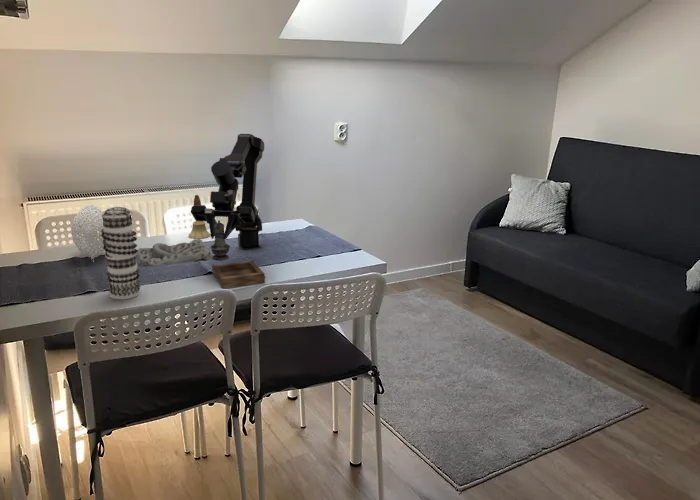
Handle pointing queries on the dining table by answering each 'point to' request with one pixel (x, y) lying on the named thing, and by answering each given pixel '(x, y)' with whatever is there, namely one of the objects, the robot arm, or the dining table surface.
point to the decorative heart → (88, 231)
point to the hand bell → (198, 225)
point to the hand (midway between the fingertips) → (218, 238)
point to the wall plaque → (173, 253)
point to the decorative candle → (120, 253)
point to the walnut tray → (238, 274)
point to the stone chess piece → (219, 244)
